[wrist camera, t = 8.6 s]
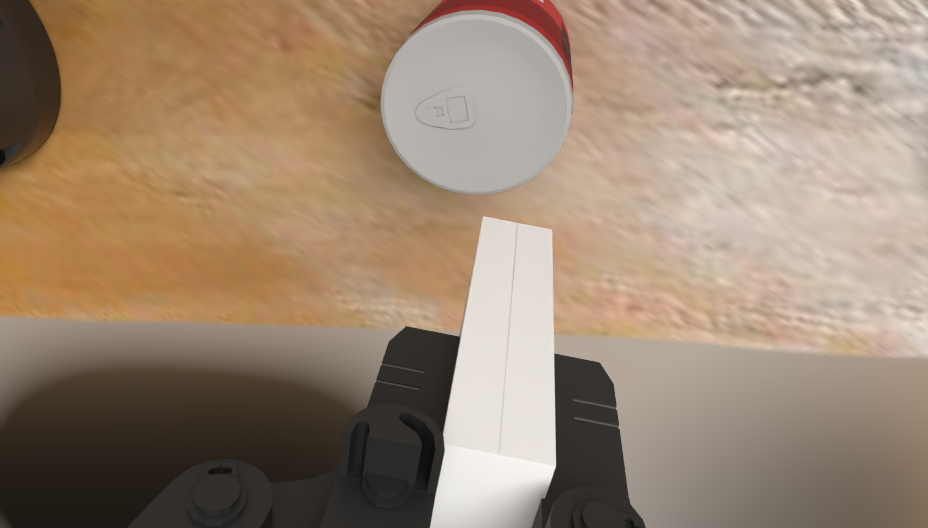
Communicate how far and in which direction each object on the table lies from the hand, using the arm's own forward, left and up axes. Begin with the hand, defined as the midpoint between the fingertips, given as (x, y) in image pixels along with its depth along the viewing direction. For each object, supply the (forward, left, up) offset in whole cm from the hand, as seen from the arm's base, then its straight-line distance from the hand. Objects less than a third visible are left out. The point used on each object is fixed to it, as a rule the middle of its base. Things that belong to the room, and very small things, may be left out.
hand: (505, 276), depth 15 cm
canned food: (-2, -1, -25) cm, 25 cm away
